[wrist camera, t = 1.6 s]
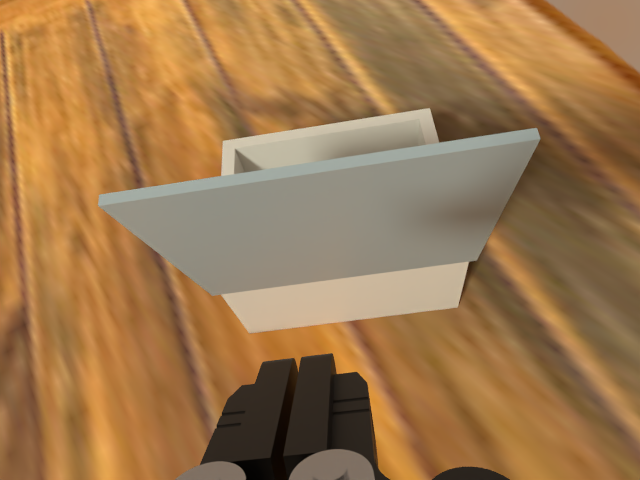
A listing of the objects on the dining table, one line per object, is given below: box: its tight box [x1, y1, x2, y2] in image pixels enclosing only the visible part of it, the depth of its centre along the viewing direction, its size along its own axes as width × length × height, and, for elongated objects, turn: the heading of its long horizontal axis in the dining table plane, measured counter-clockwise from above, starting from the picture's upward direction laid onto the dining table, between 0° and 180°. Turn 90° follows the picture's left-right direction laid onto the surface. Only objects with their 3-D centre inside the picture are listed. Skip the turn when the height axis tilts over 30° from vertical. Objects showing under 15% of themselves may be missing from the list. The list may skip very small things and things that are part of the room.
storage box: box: [221, 108, 469, 333], centre depth 46 cm, size 20×16×10 cm
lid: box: [98, 128, 540, 296], centre depth 30 cm, size 21×16×1 cm
